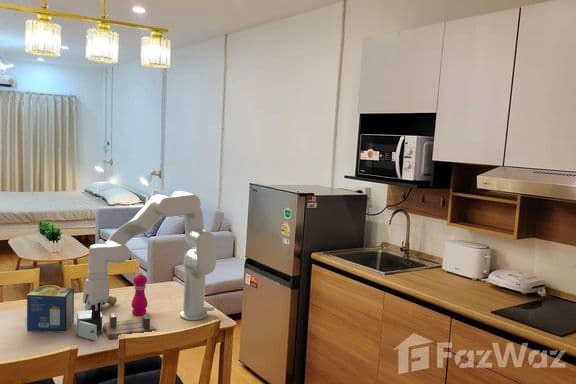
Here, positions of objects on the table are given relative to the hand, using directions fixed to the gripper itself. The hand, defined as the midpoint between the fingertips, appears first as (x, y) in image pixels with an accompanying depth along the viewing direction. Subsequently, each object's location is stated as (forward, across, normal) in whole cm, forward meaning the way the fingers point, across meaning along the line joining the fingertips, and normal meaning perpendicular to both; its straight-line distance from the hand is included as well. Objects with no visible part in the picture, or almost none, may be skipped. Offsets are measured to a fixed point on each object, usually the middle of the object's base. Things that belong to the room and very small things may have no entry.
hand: (95, 319), depth 192 cm
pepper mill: (+7, -30, -2) cm, 30 cm away
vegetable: (+8, -27, -23) cm, 36 cm away
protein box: (+8, +1, -23) cm, 25 cm away
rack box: (+8, -4, -7) cm, 11 cm away
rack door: (+8, +3, -2) cm, 8 cm away
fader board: (+7, -12, +7) cm, 16 cm away
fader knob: (+5, -9, +1) cm, 10 cm away
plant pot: (+8, -12, -41) cm, 43 cm away
